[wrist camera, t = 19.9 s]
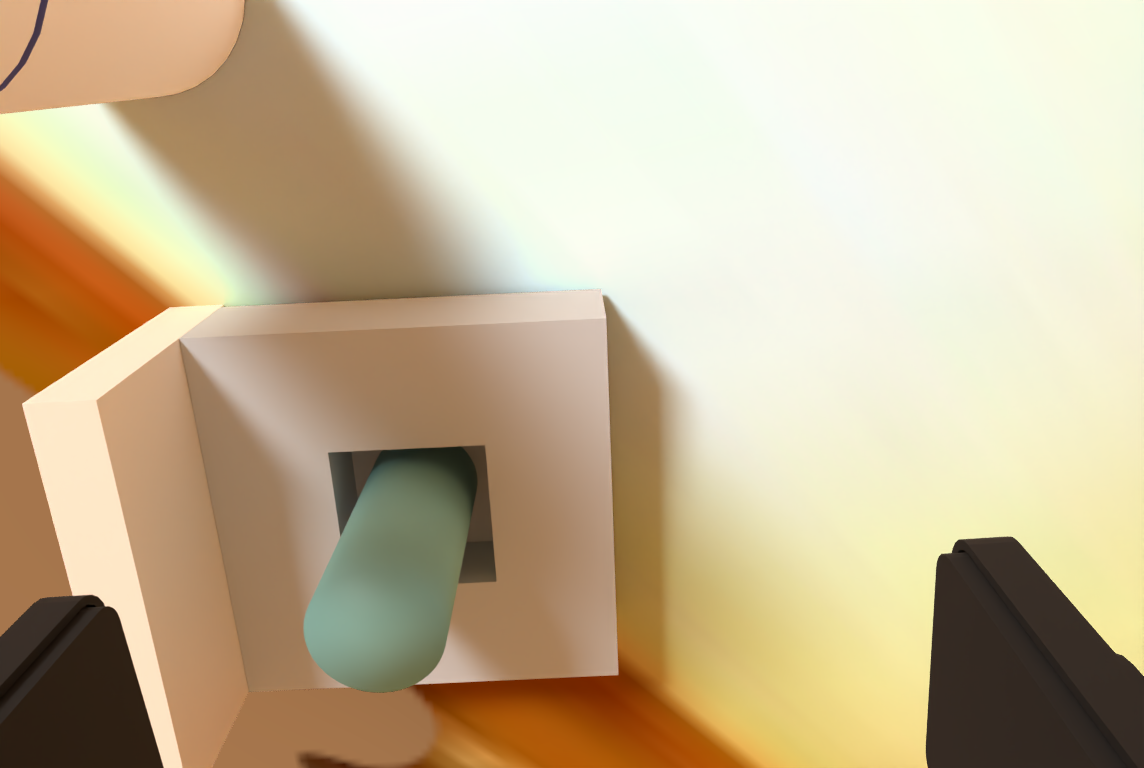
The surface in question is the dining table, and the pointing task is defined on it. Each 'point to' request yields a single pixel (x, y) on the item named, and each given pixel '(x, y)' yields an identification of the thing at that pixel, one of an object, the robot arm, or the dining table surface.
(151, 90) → the cylindrical container
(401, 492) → the dowel
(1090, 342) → the dining table surface
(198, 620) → the wall
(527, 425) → the socket block
